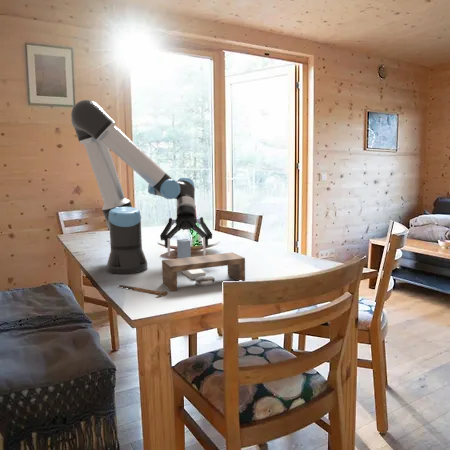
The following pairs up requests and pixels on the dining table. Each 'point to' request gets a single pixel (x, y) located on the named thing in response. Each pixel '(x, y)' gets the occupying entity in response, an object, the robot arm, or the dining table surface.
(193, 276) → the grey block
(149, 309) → the dining table surface
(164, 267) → the bench
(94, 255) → the dining table surface
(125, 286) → the tomahawk
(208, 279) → the disc
